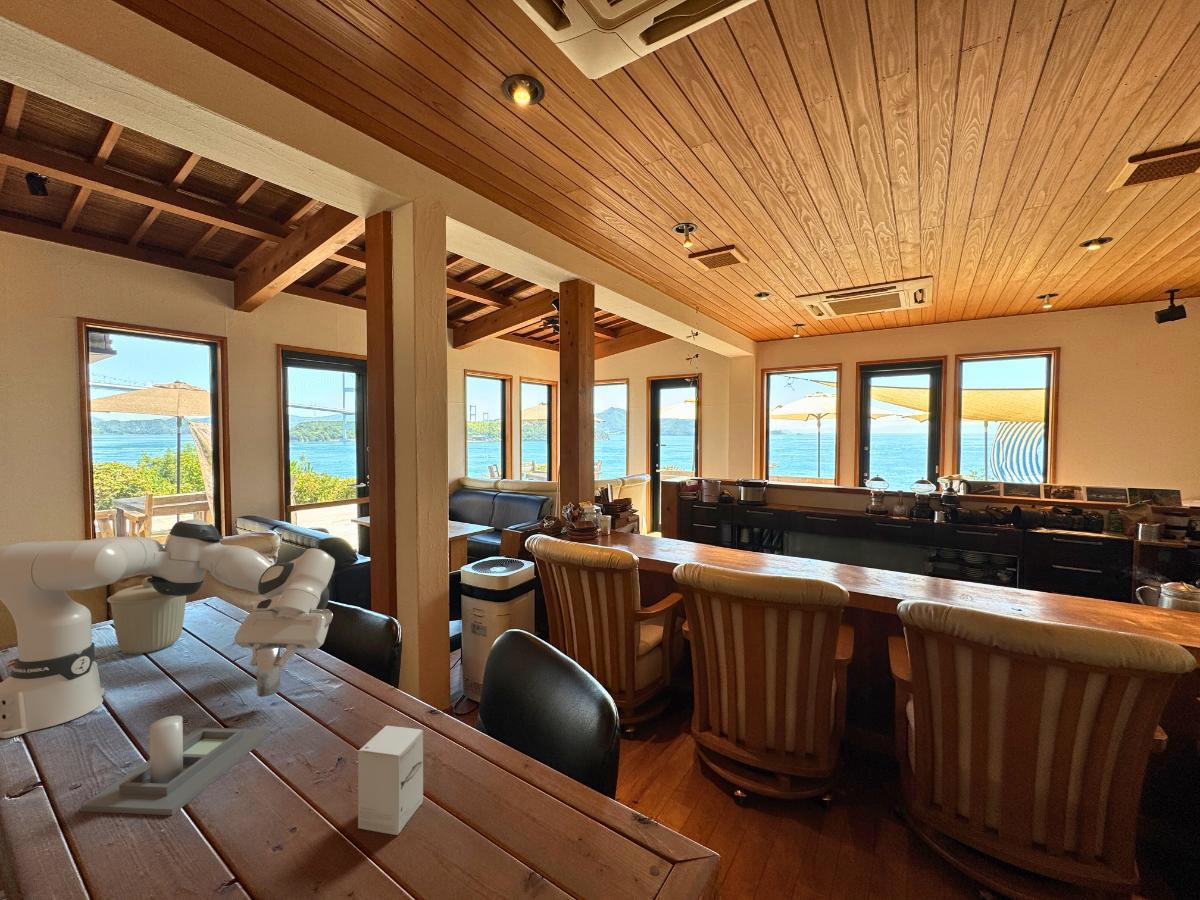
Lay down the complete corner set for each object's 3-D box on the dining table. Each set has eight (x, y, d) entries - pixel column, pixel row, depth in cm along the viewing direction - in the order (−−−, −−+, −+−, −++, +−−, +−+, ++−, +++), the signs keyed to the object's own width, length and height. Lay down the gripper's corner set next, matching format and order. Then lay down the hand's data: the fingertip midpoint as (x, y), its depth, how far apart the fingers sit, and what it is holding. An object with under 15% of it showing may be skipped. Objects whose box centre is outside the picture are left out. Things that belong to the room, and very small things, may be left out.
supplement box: (398, 837, 75) (397, 756, 75) (356, 829, 77) (355, 750, 76) (424, 802, 82) (424, 728, 82) (386, 795, 84) (385, 723, 84)
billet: (252, 696, 109) (251, 652, 109) (266, 686, 113) (266, 644, 113) (271, 696, 109) (270, 652, 109) (284, 687, 113) (284, 644, 113)
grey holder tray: (80, 811, 80) (79, 745, 80) (198, 732, 102) (197, 680, 102) (172, 815, 79) (171, 749, 79) (270, 734, 101) (270, 682, 101)
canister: (156, 633, 155) (155, 568, 155) (206, 636, 153) (205, 570, 153) (89, 658, 137) (88, 584, 137) (144, 662, 135) (143, 587, 135)
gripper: (341, 615, 122) (316, 672, 112) (262, 614, 123) (232, 670, 113) (330, 603, 117) (303, 661, 108) (248, 602, 118) (215, 659, 109)
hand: (266, 666), depth 110 cm, fingers closed on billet, 4 cm apart
